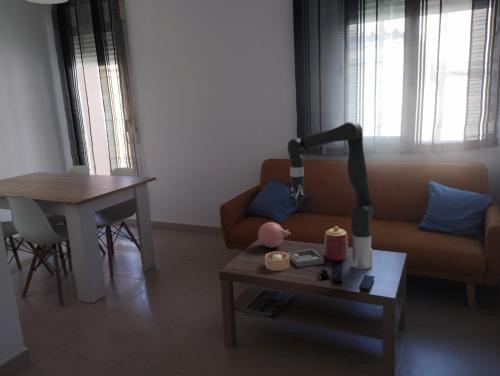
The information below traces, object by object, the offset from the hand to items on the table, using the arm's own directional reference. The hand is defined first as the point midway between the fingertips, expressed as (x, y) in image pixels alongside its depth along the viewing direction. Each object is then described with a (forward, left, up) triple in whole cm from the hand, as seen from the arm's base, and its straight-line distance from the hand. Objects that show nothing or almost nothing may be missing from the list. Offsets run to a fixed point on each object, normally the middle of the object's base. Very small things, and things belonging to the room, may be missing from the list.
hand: (297, 203), depth 230 cm
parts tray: (0, +10, -30) cm, 32 cm away
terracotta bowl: (+17, +12, -30) cm, 37 cm away
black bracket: (0, +33, -31) cm, 45 cm away
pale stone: (+17, +12, -29) cm, 36 cm away
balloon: (+9, -16, -30) cm, 35 cm away
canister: (-18, +11, -30) cm, 37 cm away
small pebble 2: (-4, +14, -30) cm, 33 cm away
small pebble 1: (+4, +6, -30) cm, 30 cm away
